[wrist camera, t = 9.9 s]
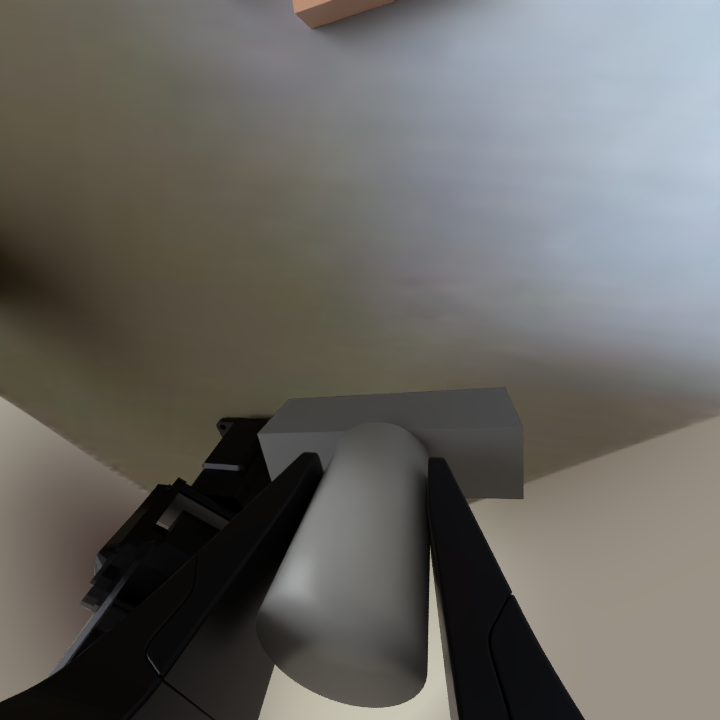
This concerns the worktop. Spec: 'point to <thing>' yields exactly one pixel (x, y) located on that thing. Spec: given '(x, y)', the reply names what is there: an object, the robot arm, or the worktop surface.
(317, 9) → the tile
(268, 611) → the pusher
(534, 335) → the worktop surface
